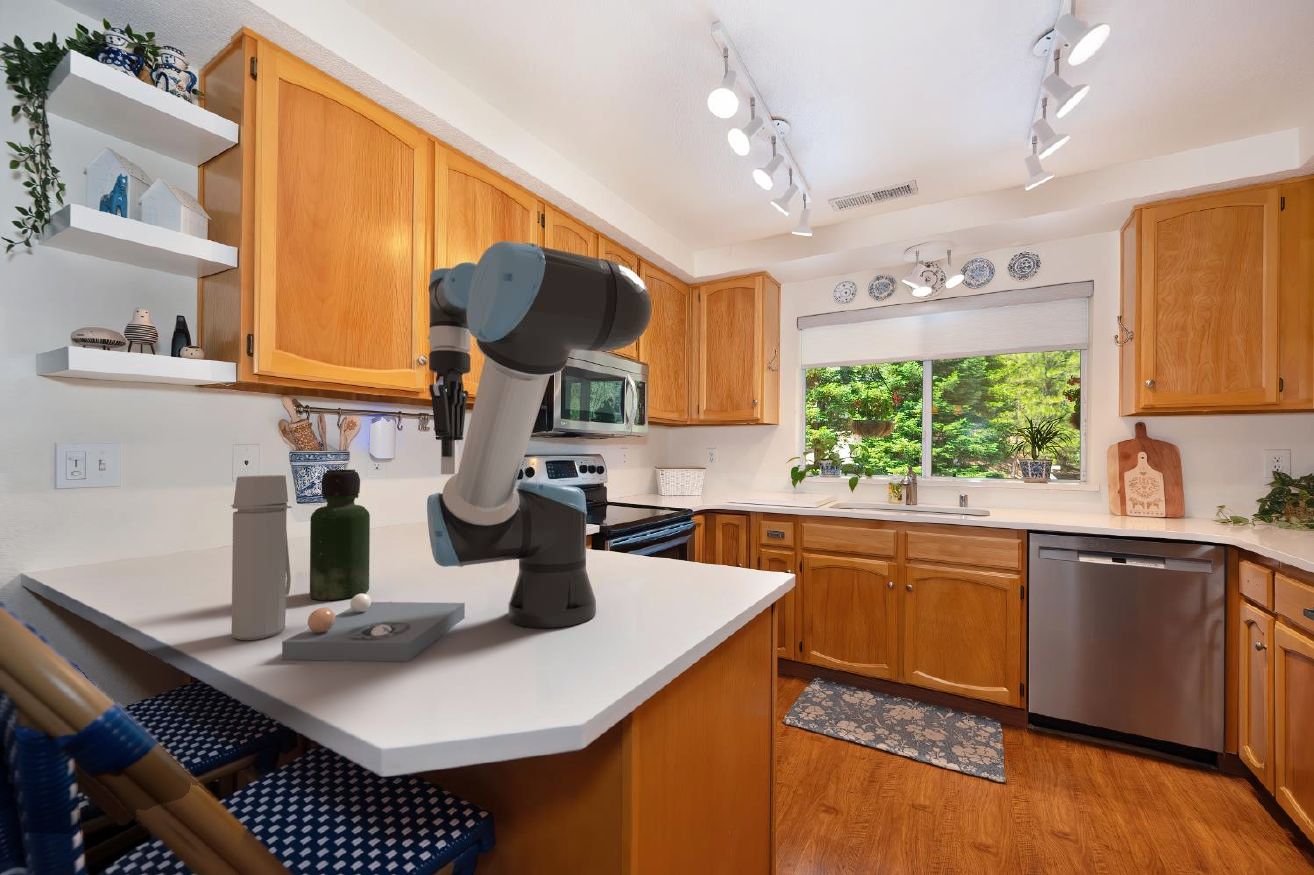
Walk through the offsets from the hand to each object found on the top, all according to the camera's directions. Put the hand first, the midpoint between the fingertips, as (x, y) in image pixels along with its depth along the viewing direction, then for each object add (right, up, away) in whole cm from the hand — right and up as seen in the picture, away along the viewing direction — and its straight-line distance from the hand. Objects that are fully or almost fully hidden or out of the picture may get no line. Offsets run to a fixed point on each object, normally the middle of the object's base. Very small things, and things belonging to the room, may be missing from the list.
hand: (449, 473), depth 108 cm
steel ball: (-1, -22, -25) cm, 33 cm away
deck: (-3, -24, -20) cm, 32 cm away
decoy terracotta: (-9, -20, -26) cm, 34 cm away
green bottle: (-24, -25, +5) cm, 35 cm away
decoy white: (-9, -20, -16) cm, 27 cm away
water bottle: (-23, -24, -18) cm, 38 cm away
